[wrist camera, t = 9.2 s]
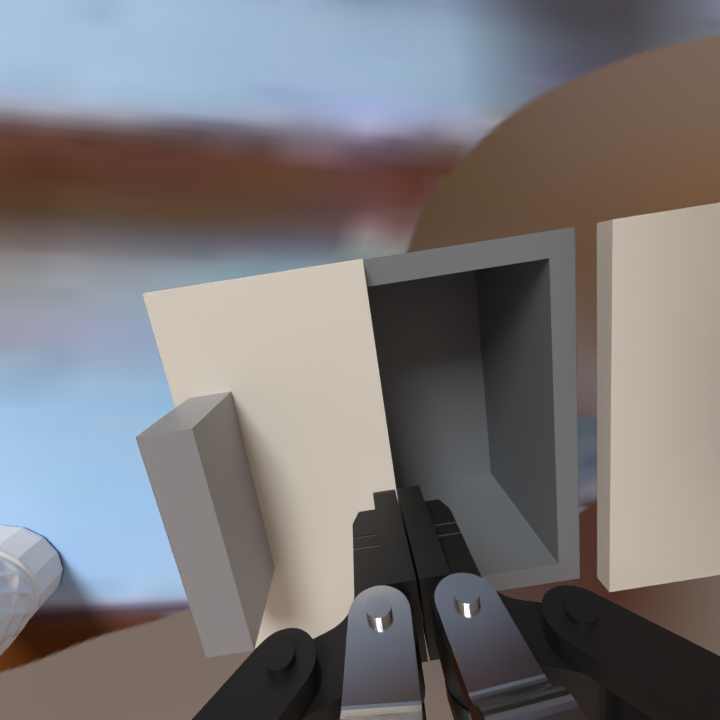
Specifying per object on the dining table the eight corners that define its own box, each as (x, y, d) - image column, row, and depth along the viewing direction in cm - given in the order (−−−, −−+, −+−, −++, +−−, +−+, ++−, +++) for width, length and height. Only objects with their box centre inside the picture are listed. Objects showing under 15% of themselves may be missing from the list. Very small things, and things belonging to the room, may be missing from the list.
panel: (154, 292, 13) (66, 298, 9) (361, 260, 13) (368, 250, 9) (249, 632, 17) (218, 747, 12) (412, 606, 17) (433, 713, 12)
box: (231, 288, 22) (153, 292, 13) (483, 248, 22) (574, 226, 13) (282, 510, 25) (248, 630, 17) (499, 475, 25) (580, 578, 17)
